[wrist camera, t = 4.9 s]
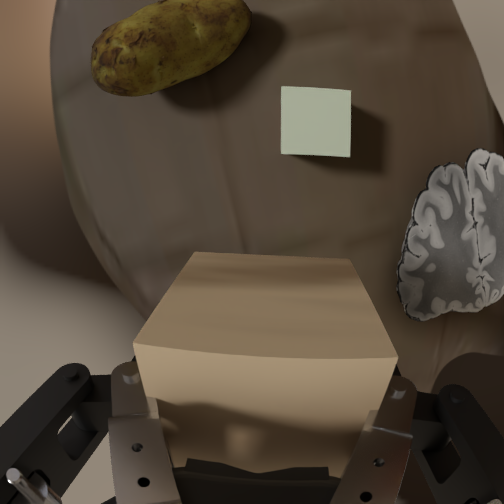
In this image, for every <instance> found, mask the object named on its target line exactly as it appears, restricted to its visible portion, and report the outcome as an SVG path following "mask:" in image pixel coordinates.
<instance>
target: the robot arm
mask: <svg viewBox="0 0 504 504" xmlns="http://www.w3.org/2000/svg"><path fill="white" fill-rule="evenodd" d="M70 416H72V418H71V419H70V421H69V422H68V423H67V424H66V425H65V427H64V428H63V429H62V430H61V431H60V433H59V434H58V431H59V429H60V427H61V426H62V425H63V424H64V423H65V421H66V420H67V419H68V418H69V417H70ZM108 431H109V443H110V453H111V463H112V473H113V481H114V488H115V495H116V496H114V497H113V498H111V499H109V500H107V501H105V502H103V503H101V504H395V501H396V498H397V495H398V491H399V488H400V485H401V482H402V478H403V475H404V471H405V467H406V464H407V460H408V456H409V451H410V449H412V451H413V453H414V455H415V457H416V459H417V461H418V463H419V465H420V467H421V469H422V472H423V474H424V476H425V478H426V480H427V482H428V484H429V486H430V489H431V491H432V493H433V495H434V497H435V500H436V502H437V504H504V439H503V437H502V435H501V434H500V432H499V431H498V430H497V428H496V427H495V425H494V424H493V422H492V421H491V420H490V418H489V417H488V415H487V414H486V413H485V411H484V410H483V409H482V407H481V406H480V405H479V403H478V402H477V400H476V399H475V398H474V396H473V395H472V394H471V393H470V391H469V390H467V389H466V388H464V387H462V386H460V385H456V384H450V385H446V386H444V387H443V388H442V389H441V390H440V392H439V394H438V395H437V394H430V393H423V392H419V391H417V388H416V386H415V385H414V383H413V382H412V381H410V380H409V379H407V378H405V377H402V376H401V374H400V372H399V369H398V367H397V365H395V368H394V371H393V374H392V377H391V379H390V382H389V385H388V387H387V390H386V392H385V395H384V397H383V400H382V402H381V405H380V407H379V410H370V411H369V413H368V416H367V418H366V420H365V423H364V426H363V428H362V431H361V433H360V436H359V438H358V441H357V443H356V445H355V447H354V450H353V451H352V453H351V455H350V457H349V459H348V461H347V463H346V466H345V468H344V470H343V472H342V474H341V476H340V478H338V477H334V476H329V468H328V467H292V468H287V469H281V470H276V471H270V472H263V473H254V472H250V471H247V470H243V469H240V468H237V467H233V466H230V465H227V464H224V463H220V462H212V461H205V460H198V459H192V458H187V461H186V465H185V467H175V464H174V461H173V457H172V454H171V450H170V446H169V443H168V440H166V437H165V433H164V430H163V426H162V422H161V418H160V413H159V408H158V405H157V401H156V398H153V397H148V396H146V394H145V391H144V387H143V383H142V380H141V376H140V372H139V368H138V364H137V360H136V355H135V356H134V358H133V359H132V361H131V362H125V363H122V364H120V365H119V366H117V367H116V368H115V369H114V370H113V371H112V374H111V375H90V372H89V370H88V368H87V367H86V366H85V365H82V364H79V363H71V364H67V365H64V366H62V367H61V368H59V369H58V370H57V371H56V372H55V373H54V374H53V375H52V376H51V377H50V378H49V379H48V380H47V381H46V382H45V383H44V384H43V385H42V386H41V387H40V388H38V389H37V390H36V392H35V393H33V394H32V395H31V396H30V397H29V398H28V399H27V400H26V401H25V402H24V403H23V405H21V407H19V408H18V409H17V410H16V412H14V414H13V415H12V416H11V417H10V418H9V419H8V420H7V421H6V422H5V423H4V424H3V425H2V426H1V427H0V504H62V501H61V497H62V496H63V494H64V493H65V491H66V490H67V489H68V487H69V486H70V484H71V483H72V482H73V480H74V479H75V477H76V476H77V475H78V473H79V472H80V470H81V469H82V467H83V466H84V465H85V463H86V462H87V461H88V459H89V458H90V456H91V455H92V454H93V452H94V451H95V450H96V448H97V447H98V445H99V444H100V443H101V441H102V440H103V438H104V437H105V436H106V434H107V433H108ZM451 439H452V441H453V442H454V444H455V446H456V447H457V449H458V451H459V453H460V456H461V458H460V457H459V455H458V453H457V451H456V450H455V448H454V446H453V445H452V443H451V441H450V440H451Z"/></svg>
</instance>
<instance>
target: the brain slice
mask: <svg viewBox="0 0 504 504" xmlns="http://www.w3.org/2000/svg"><path fill="white" fill-rule="evenodd" d="M401 251H402V257H401V259H400V261H399V262H398V265H397V278H398V282H397V293H398V295H399V298H400V302H401V303H402V304H403V307H404V311H405V313H406V315H407V316H408V317H409V318H411V319H413V320H416V321H426V320H428V319H432V318H435V317H437V316H439V315H441V314H444V313H447V312H450V311H455V312H470V313H471V312H479V311H480V310H482V309H483V307H484V306H486V307H487V306H489V305H491V304H493V303H495V302H497V301H498V300H499V299H500V298H501V297H502V296H503V294H504V159H503V157H502V156H501V155H499V154H497V153H495V152H488V151H487V150H485V149H482V148H477V149H474V150H473V151H471V153H470V154H469V156H468V158H467V161H466V163H465V169H464V170H463V169H462V168H461V167H460V166H459V165H457V164H456V163H454V162H452V163H450V162H449V163H446V164H445V165H443V166H440V165H438V166H436V167H435V168H434V169H433V170H432V171H431V172H430V174H429V176H428V178H427V181H426V189H425V190H422V191H420V193H419V194H418V195H417V197H416V200H415V203H414V206H413V209H412V218H411V220H410V222H409V224H408V226H407V230H406V234H405V239H404V242H403V245H402V250H401Z"/></svg>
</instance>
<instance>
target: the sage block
mask: <svg viewBox="0 0 504 504" xmlns="http://www.w3.org/2000/svg"><path fill="white" fill-rule="evenodd" d="M350 141H351V91H348V90H338V89H325V88H310V87H284V86H281V154H301V155H323V156H339V157H350Z"/></svg>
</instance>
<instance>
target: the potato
mask: <svg viewBox="0 0 504 504" xmlns="http://www.w3.org/2000/svg"><path fill="white" fill-rule="evenodd" d="M251 13H252V12H251V11H250V9H249V8H248V6H247V5H246V3H245V2H244V1H243V0H163V1H158V2H157V3H154V4H150V5H148V6H145V7H143V8H142V9H140V10H138V11H137V12H135V13H134V14H133V15H131V16H130V17H129V18H126V19H123V20H121V21H119V22H117V23H115V24H113V25H111V26H110V27H108V28H106V29H104V30H103V32H102V34H101V35H100V36H99V37H98V38H97V39H96V40H95V42H94V44H93V46H92V53H91V71H92V76H93V79H94V81H95V83H96V84H97V86H98V87H100V88H101V89H102V90H104V91H106V92H108V93H111V94H114V95H119V96H131V97H132V96H142V95H147V94H152V93H154V92H157V91H160V90H162V89H165V88H168V87H171V86H173V85H175V84H177V83H180V82H182V81H184V80H186V79H190V78H194V77H197V76H199V75H202V74H204V73H206V72H207V71H209V70H211V69H212V68H214V67H215V66H217V65H219V64H220V63H221V62H223V61H224V60H225V59H227V58H228V57H229V56H230V55H231V54H232V53H233V52H234V51H235V49H236V48H237V47H238V46H239V44H240V42H241V41H242V39H243V37H244V36H245V35H246V33H247V31H248V30H249V28H250V25H251Z"/></svg>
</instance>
